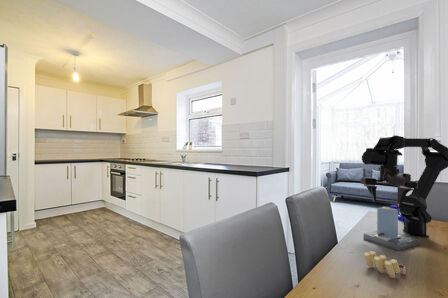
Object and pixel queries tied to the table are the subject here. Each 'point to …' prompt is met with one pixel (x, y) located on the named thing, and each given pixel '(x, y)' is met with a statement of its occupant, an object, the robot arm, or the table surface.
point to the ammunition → (384, 264)
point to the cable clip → (398, 213)
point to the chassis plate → (396, 244)
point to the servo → (387, 224)
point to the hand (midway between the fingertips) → (386, 203)
